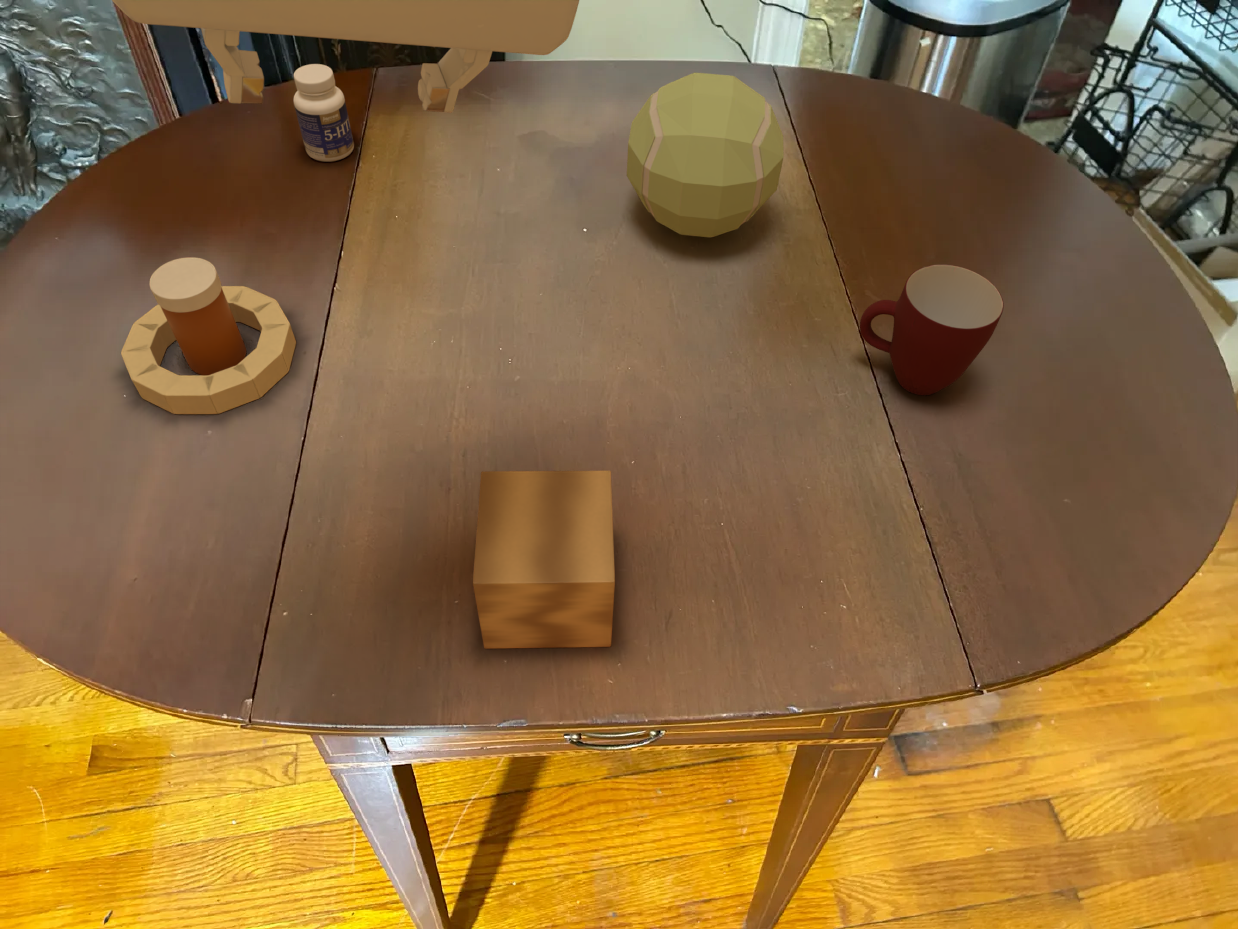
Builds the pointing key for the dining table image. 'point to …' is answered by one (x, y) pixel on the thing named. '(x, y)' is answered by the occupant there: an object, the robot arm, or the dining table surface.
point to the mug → (936, 325)
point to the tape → (223, 386)
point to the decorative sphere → (705, 154)
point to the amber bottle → (198, 314)
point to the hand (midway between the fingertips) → (343, 99)
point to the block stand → (545, 559)
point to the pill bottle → (322, 114)
